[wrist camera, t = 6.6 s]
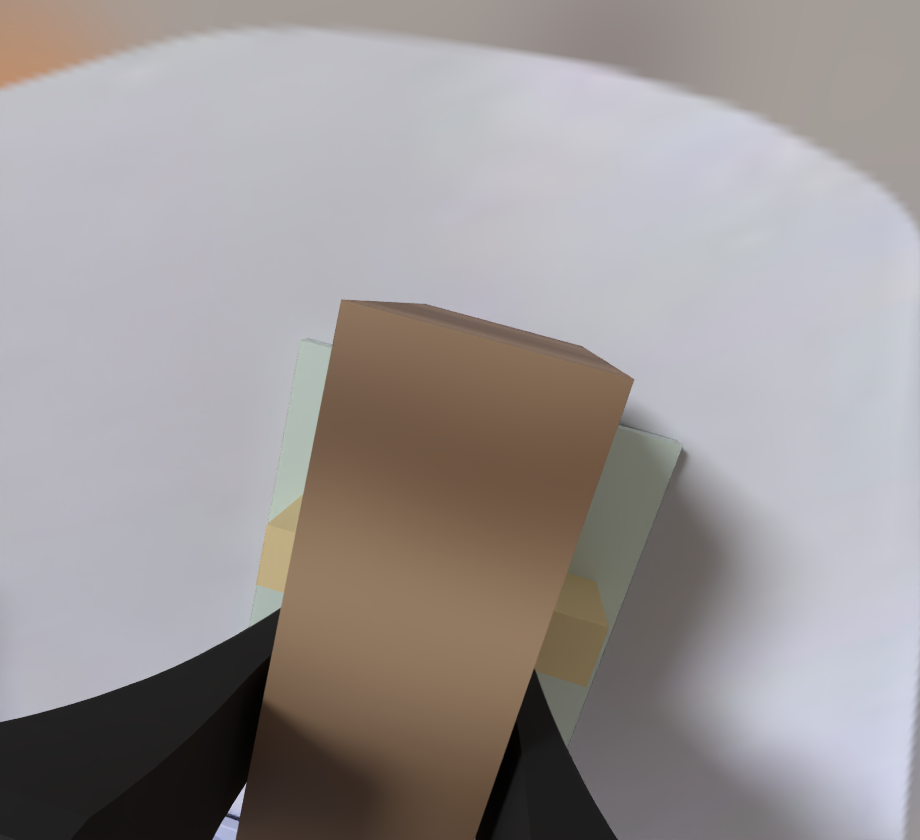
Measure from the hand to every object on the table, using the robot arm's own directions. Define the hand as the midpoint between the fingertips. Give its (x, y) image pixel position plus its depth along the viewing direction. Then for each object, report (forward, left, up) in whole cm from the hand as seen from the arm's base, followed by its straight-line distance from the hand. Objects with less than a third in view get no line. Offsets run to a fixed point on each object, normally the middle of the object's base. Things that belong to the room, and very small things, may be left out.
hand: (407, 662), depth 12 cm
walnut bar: (0, 0, -2) cm, 2 cm away
